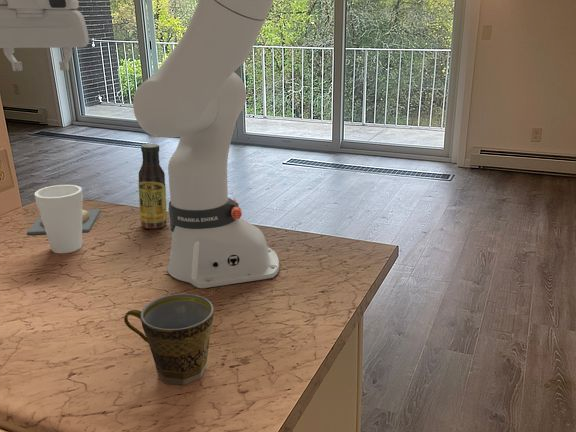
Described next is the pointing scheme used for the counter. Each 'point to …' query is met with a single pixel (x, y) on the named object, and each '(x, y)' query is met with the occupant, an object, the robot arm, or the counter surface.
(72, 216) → the foam cup
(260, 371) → the counter surface
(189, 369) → the ceramic cup
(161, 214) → the sauce bottle
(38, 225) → the mat
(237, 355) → the counter surface
